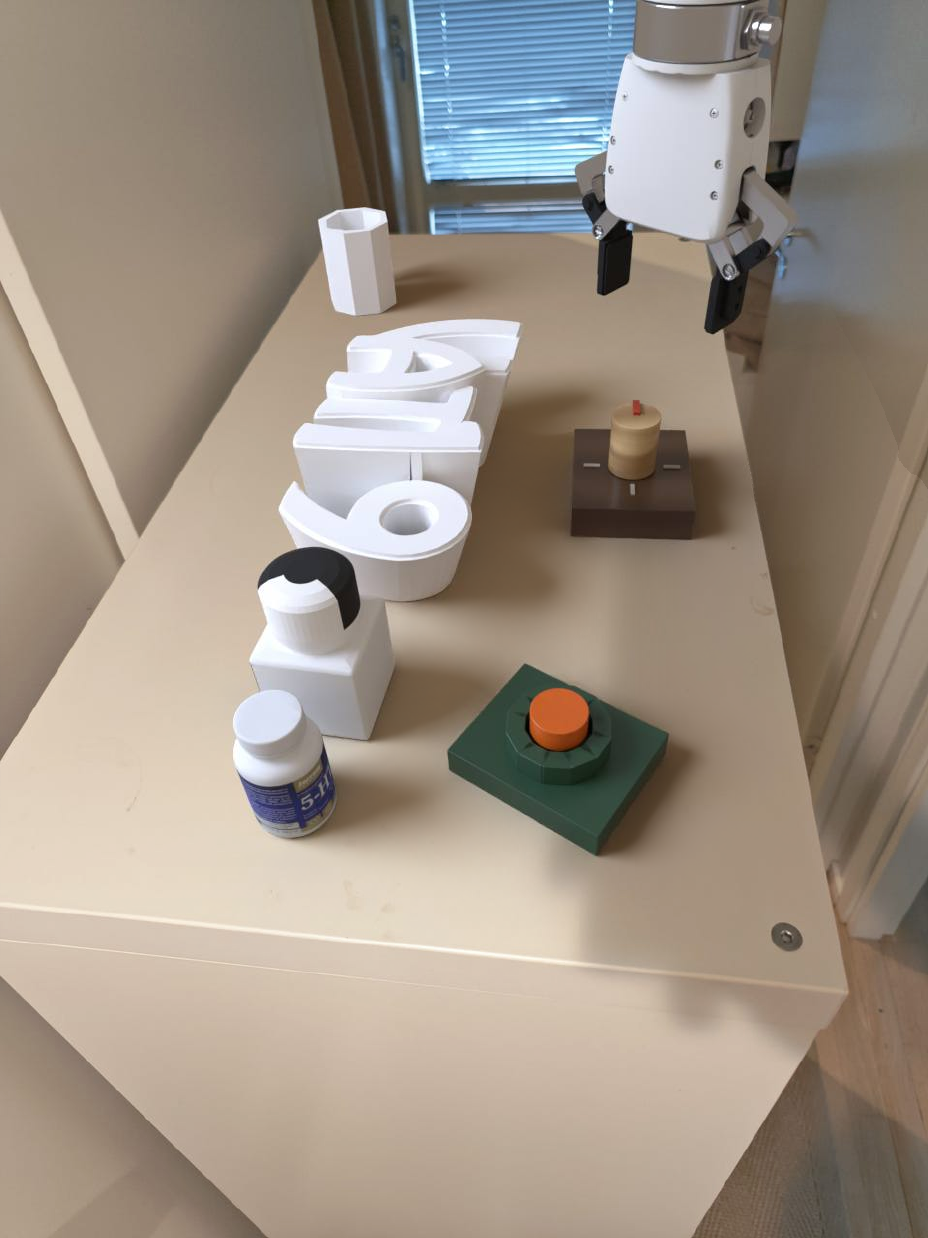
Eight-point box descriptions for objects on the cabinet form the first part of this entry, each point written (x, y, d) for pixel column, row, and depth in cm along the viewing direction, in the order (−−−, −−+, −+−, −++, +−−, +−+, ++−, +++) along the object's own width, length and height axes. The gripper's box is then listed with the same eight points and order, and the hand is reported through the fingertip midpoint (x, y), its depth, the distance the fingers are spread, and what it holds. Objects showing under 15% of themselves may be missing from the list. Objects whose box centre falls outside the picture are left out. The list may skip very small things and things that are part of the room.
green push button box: (665, 754, 55) (673, 715, 52) (596, 856, 50) (599, 820, 47) (524, 683, 60) (524, 644, 57) (448, 770, 55) (444, 732, 52)
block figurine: (305, 654, 63) (270, 529, 55) (396, 665, 62) (376, 538, 54) (270, 729, 58) (227, 604, 50) (369, 743, 57) (341, 616, 49)
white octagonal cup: (387, 317, 103) (377, 234, 96) (321, 314, 105) (306, 232, 98) (413, 276, 111) (405, 196, 104) (351, 273, 113) (339, 195, 106)
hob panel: (691, 539, 70) (696, 509, 68) (570, 536, 72) (571, 506, 69) (681, 457, 79) (685, 428, 77) (573, 455, 80) (574, 426, 78)
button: (598, 721, 53) (600, 704, 52) (568, 761, 51) (569, 743, 50) (549, 697, 55) (550, 679, 53) (518, 734, 53) (518, 716, 51)
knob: (656, 480, 71) (663, 425, 68) (608, 479, 72) (612, 425, 68) (653, 453, 74) (660, 399, 70) (607, 452, 75) (611, 399, 71)
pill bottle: (324, 845, 52) (296, 759, 46) (243, 834, 53) (205, 748, 46) (347, 773, 55) (325, 685, 49) (272, 764, 56) (240, 676, 50)
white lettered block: (387, 389, 90) (375, 293, 83) (540, 401, 87) (541, 301, 80) (257, 616, 67) (224, 509, 59) (461, 644, 63) (452, 534, 56)
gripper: (864, 35, 48) (796, 323, 60) (622, 6, 57) (605, 261, 69) (793, 63, 44) (736, 363, 56) (547, 27, 54) (543, 292, 66)
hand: (664, 307), depth 63 cm, fingers open, 9 cm apart
